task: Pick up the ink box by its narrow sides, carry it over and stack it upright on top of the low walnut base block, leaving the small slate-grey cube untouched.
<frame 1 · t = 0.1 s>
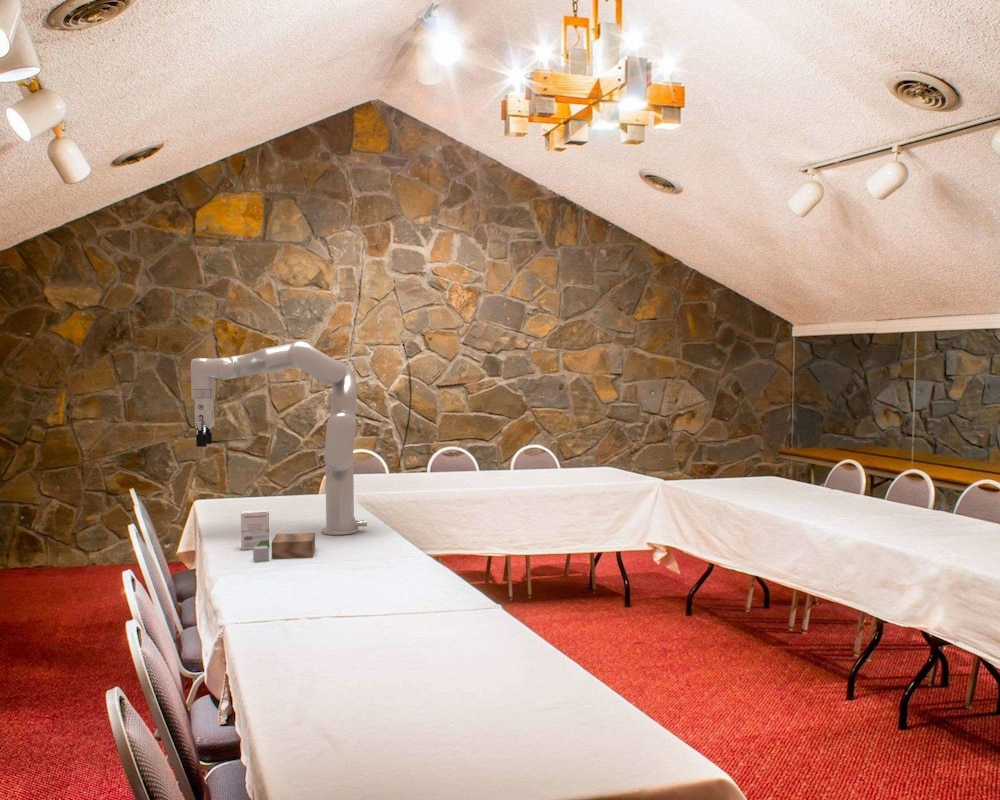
hand: (204, 445, 309), 31 cm above the table, fingers open, 9 cm apart
slate cube: (261, 560, 274), on the table
ink box: (255, 548, 292), on the table
walnut base block: (294, 553, 283), on the table
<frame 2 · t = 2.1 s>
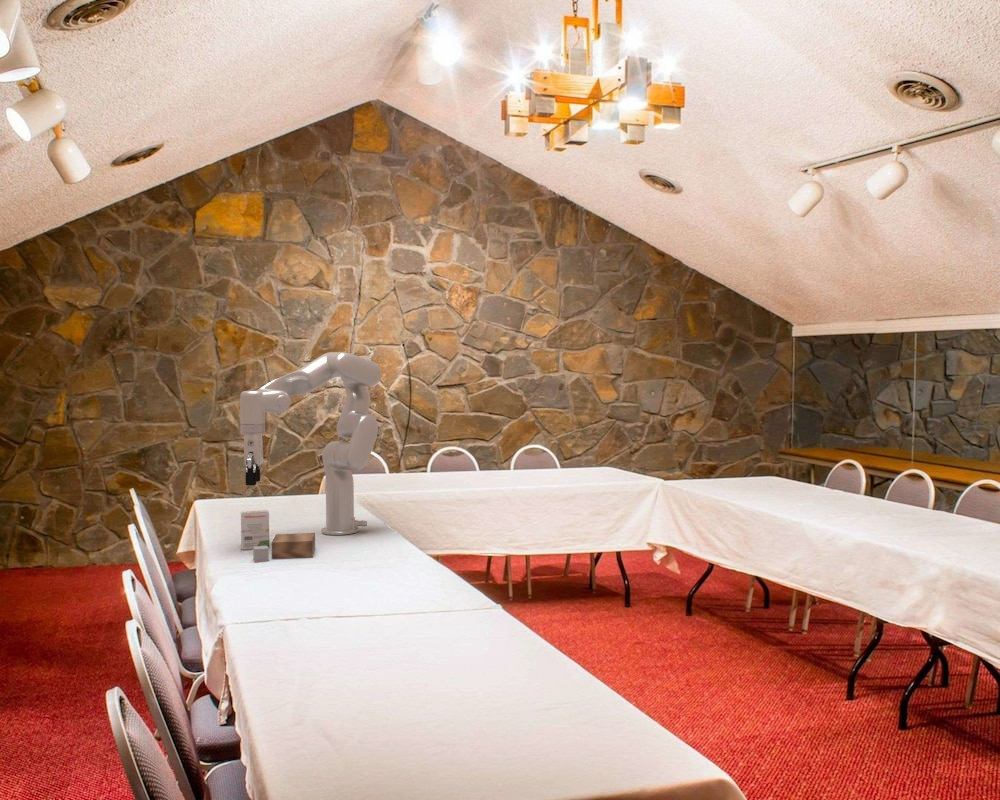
hand: (253, 483, 291), 21 cm above the table, fingers open, 9 cm apart
nothing on the table moved.
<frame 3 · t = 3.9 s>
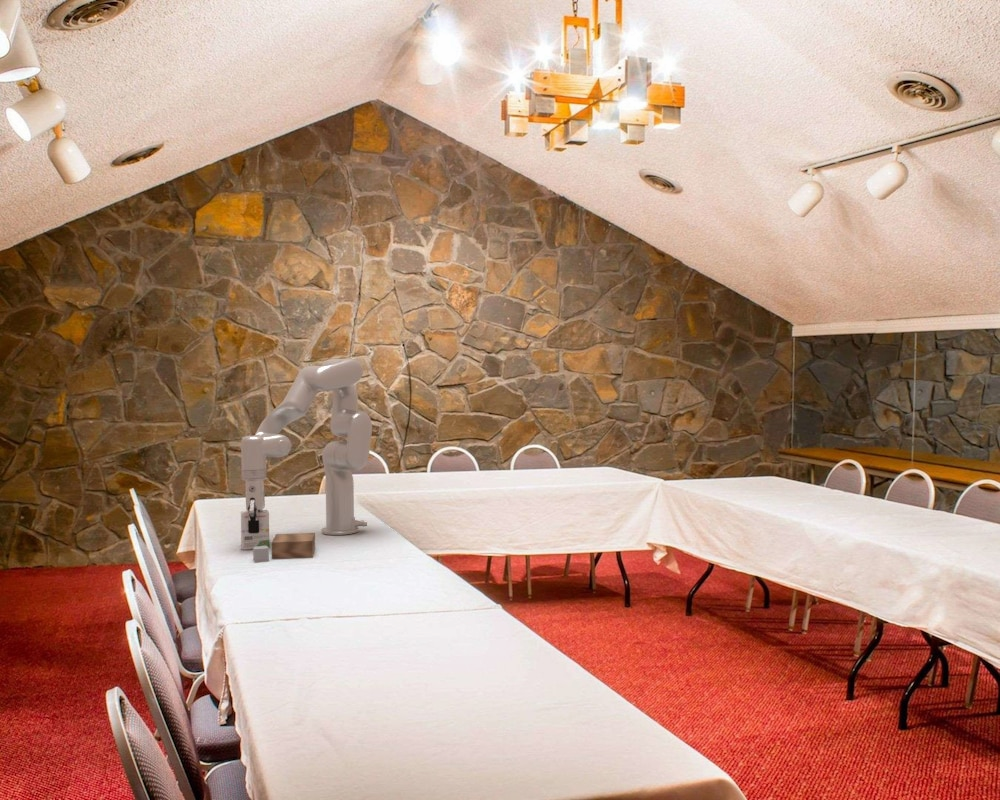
hand: (255, 530, 292), 6 cm above the table, fingers closed on ink box, 5 cm apart
ink box: (255, 548, 292), on the table, touching gripper
everything else where it was.
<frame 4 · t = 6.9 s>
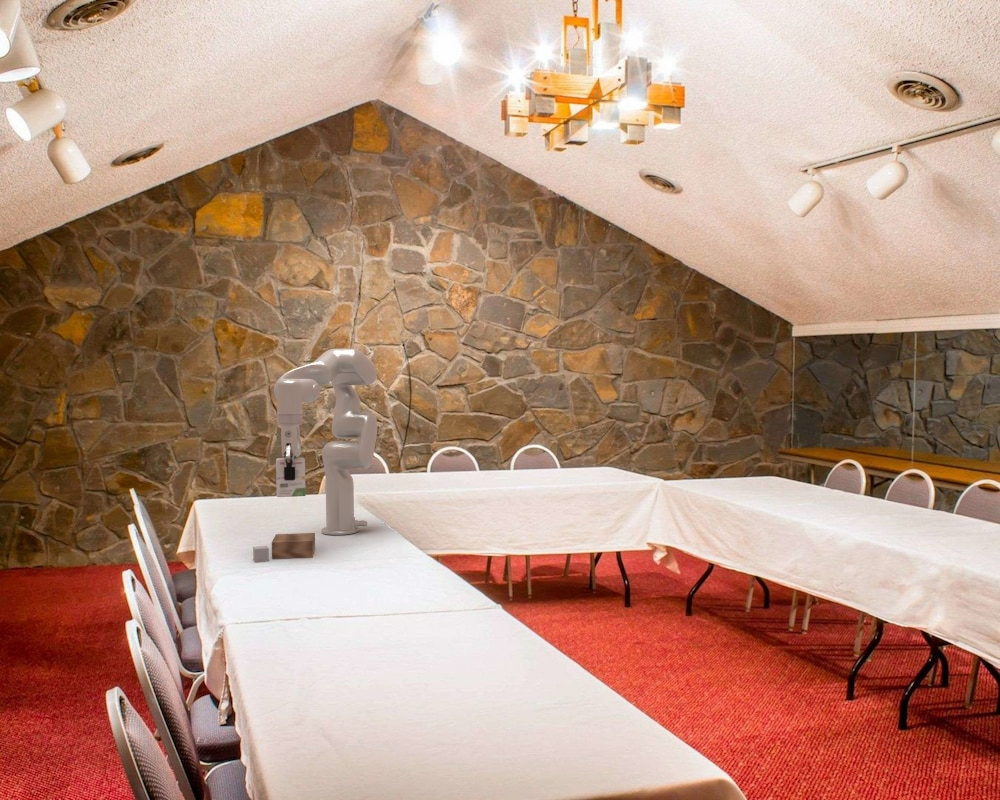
hand: (290, 478, 282), 23 cm above the table, fingers closed on ink box, 5 cm apart
ink box: (291, 496, 282), point 18 cm above the table, touching gripper
everything else where it was.
when the fingers open (11 cm above the table, at t = 10.1 s): ink box stays where it is, resting on walnut base block.
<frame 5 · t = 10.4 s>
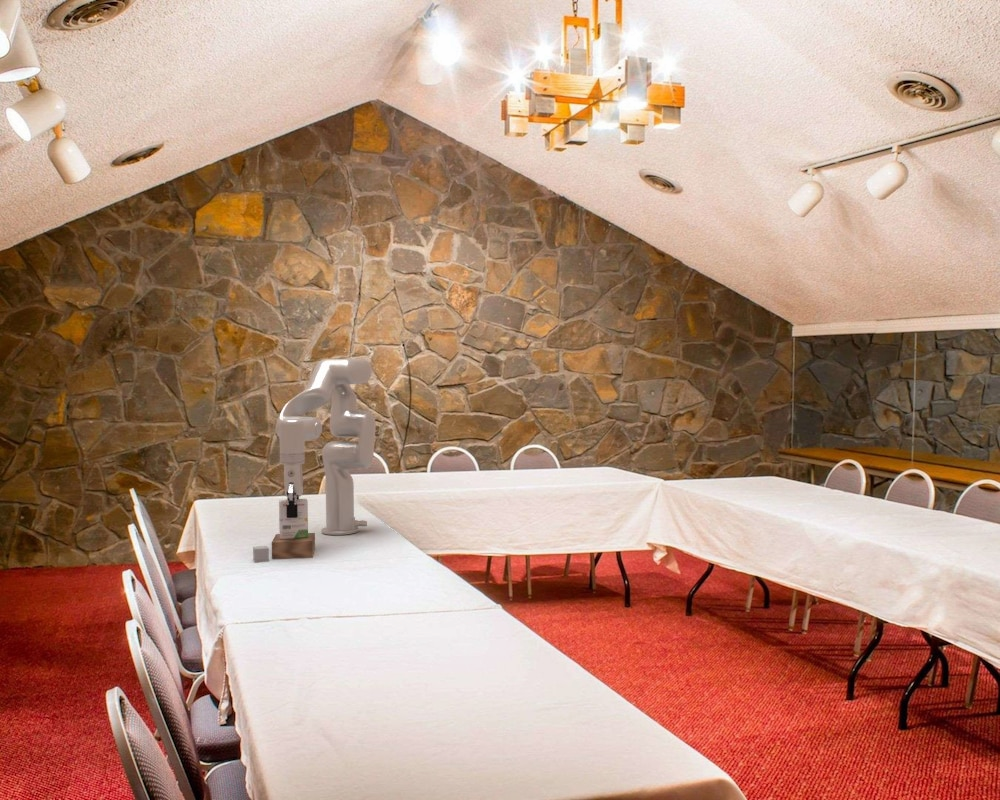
hand: (293, 515, 282), 12 cm above the table, fingers open, 8 cm apart
ink box: (293, 537, 283), point 5 cm above the table, touching walnut base block
everything else where it was.
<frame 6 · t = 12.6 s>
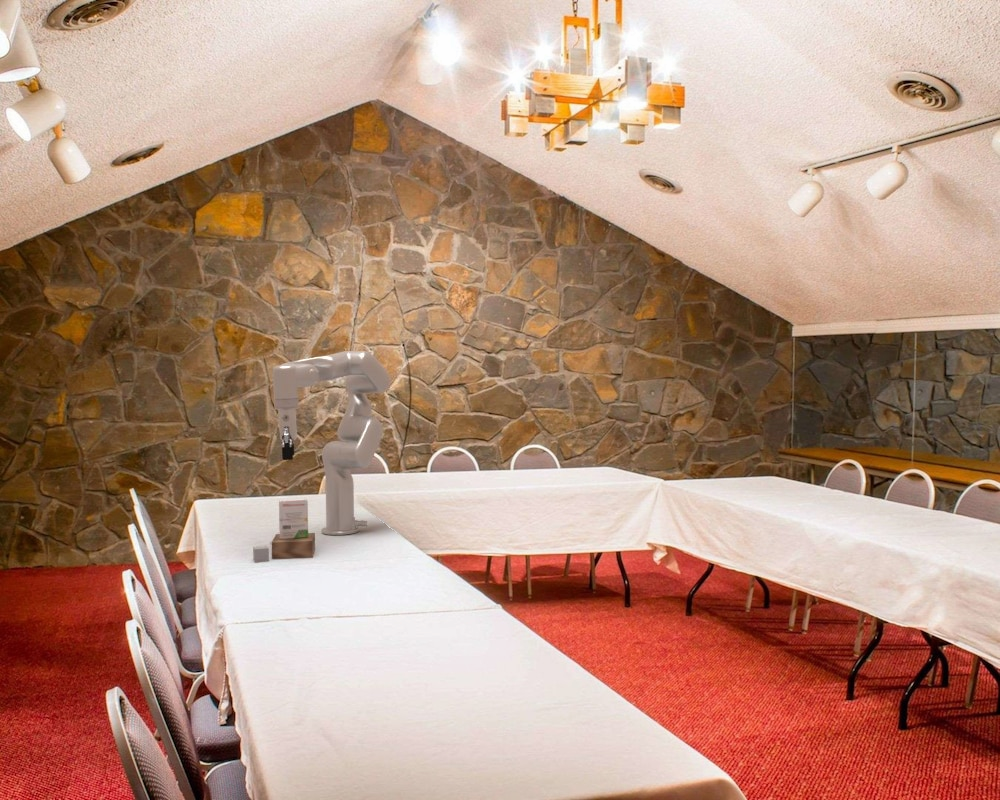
hand: (288, 457, 291), 29 cm above the table, fingers open, 9 cm apart
nothing on the table moved.
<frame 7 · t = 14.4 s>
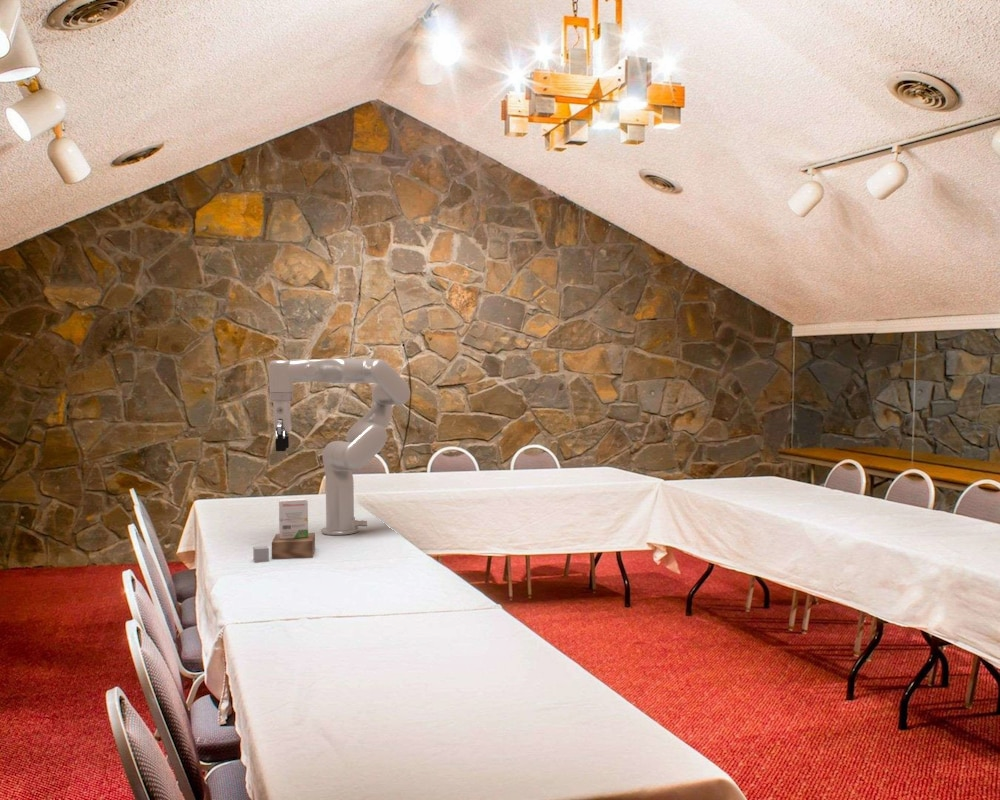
hand: (282, 449, 301), 30 cm above the table, fingers open, 9 cm apart
nothing on the table moved.
at the end: ink box inside the target area on the walnut base block (0.3 cm from its centre), point 4.8 cm above the walnut base block's base; ink box tilted 0°; the gripper is holding nothing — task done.
